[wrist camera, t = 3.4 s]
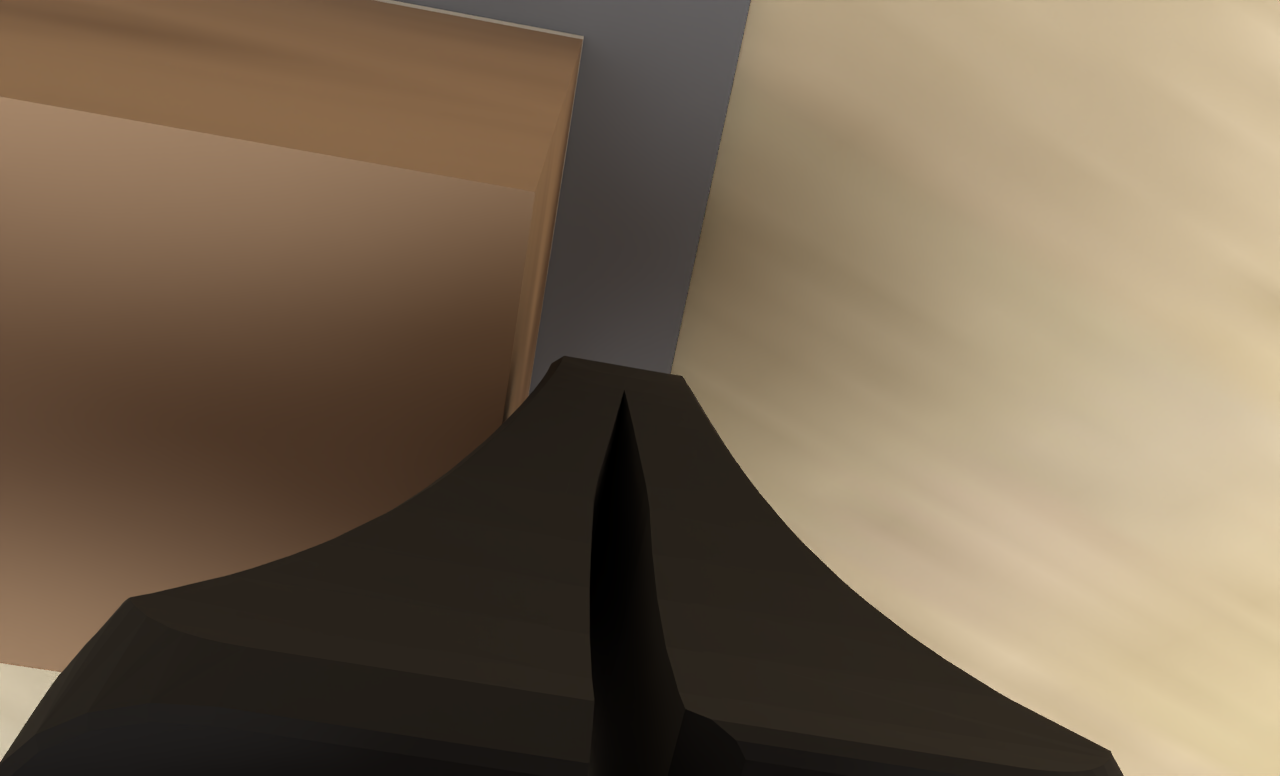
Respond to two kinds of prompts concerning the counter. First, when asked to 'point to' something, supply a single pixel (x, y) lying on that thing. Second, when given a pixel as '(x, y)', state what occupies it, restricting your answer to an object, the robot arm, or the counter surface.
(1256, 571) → the counter surface
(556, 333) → the mat
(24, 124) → the letter cube
